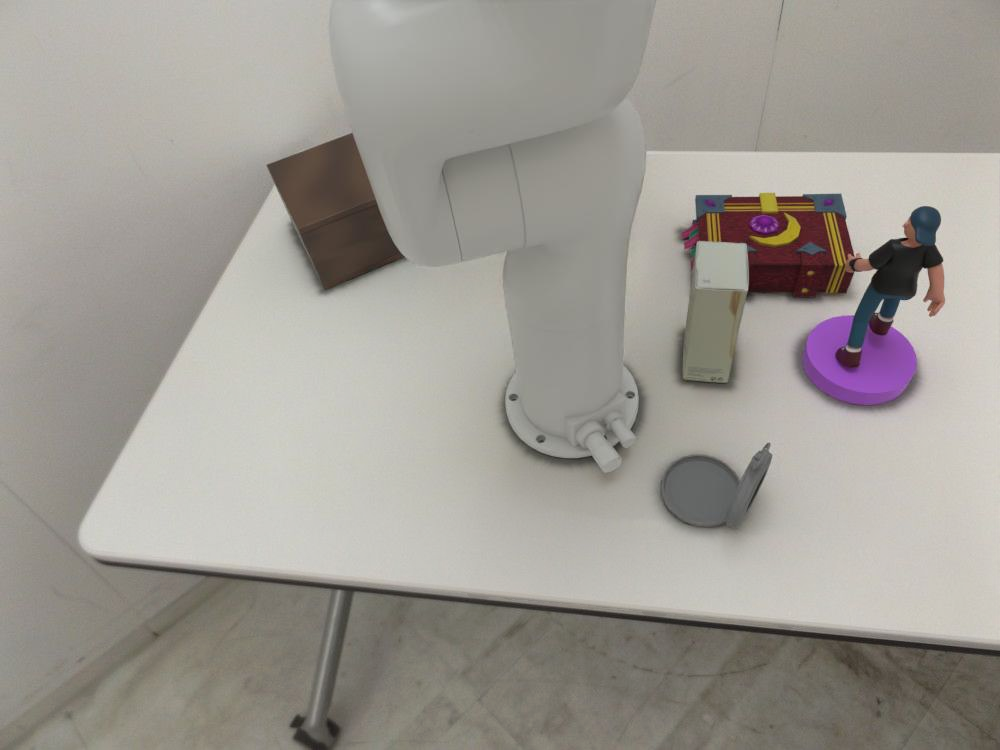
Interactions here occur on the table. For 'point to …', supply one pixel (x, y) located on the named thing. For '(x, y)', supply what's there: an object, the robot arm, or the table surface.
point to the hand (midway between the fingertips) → (467, 22)
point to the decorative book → (780, 239)
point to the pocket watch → (713, 489)
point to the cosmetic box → (715, 310)
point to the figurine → (878, 319)
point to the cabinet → (334, 210)
